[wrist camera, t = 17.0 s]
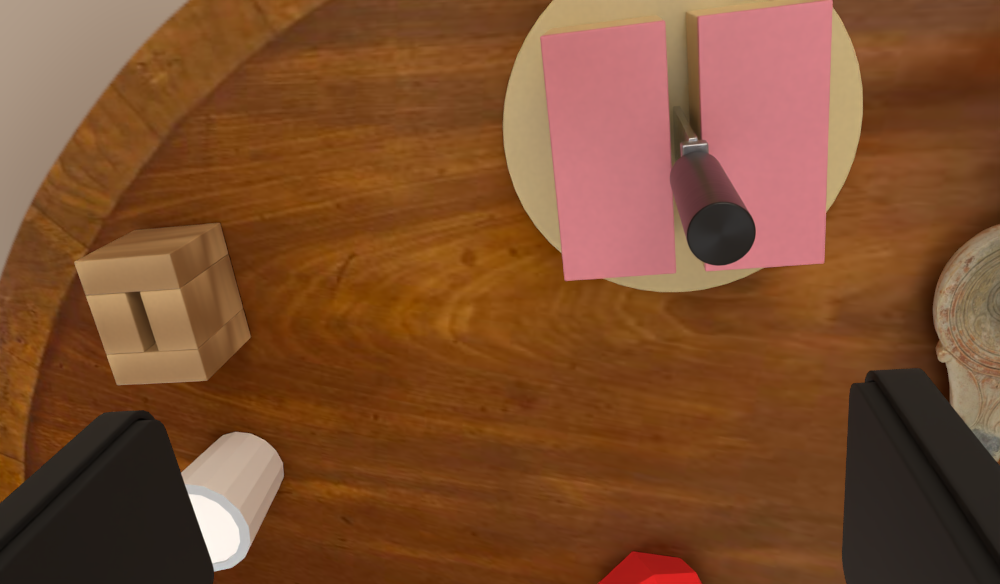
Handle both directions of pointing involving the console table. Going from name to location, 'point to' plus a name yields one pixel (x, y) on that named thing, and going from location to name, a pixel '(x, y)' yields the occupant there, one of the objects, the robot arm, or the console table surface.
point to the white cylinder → (233, 493)
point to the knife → (707, 200)
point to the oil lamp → (972, 334)
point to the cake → (650, 134)
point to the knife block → (165, 303)
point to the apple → (651, 570)
